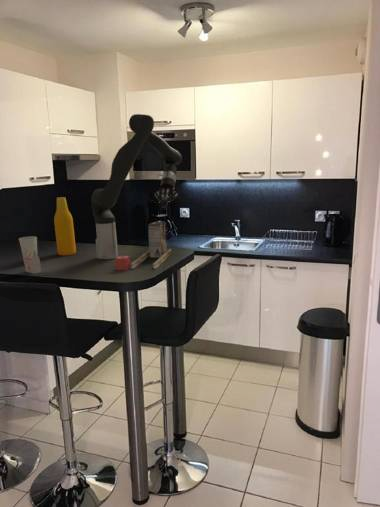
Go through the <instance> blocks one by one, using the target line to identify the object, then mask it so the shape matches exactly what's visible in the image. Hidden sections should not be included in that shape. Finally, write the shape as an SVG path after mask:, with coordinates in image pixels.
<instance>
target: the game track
mask: <svg viewBox="0 0 380 507" xmlns="http://www.w3.org/2000/svg"><path fill="white" fill-rule="evenodd" d="M172 253H173V249H172V248H169V249H167V252H166V253H165V254H164V255H163V256H162V257H158V259H157V260H156V261H155V262H154V263H153V264H152V268H153V269H154V270H155V269H157V268H159V266H160V265H162V264H163V262H165V260H166V259H168V258H169V256H171V255H172ZM147 258H150V250H149V249H148V250H147V251H145V253H143V254H141V256H140V257H138V258H136V259H135V260H134V261H133V262H131V267H130V269H133V270H134V269H135V268H136V267H137V266H139V265H140V264H141V263H142V262H144V261H145V260H146V259H147Z"/></svg>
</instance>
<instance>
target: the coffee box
mask: <svg viewBox="0 0 380 507" xmlns="http://www.w3.org/2000/svg"><path fill="white" fill-rule="evenodd" d="M166 232H167V230H166V221H153V222H150V223H148V224H147V235H148V247H149V249H148V251H149V250H150V256H149V258H160V257H162V256H163V255H164V254H165V253H166V252H167V251H168V244H167V233H166Z"/></svg>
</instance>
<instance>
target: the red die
mask: <svg viewBox="0 0 380 507" xmlns="http://www.w3.org/2000/svg"><path fill="white" fill-rule="evenodd" d="M114 259H115V260H114V261H115V262H114V263H115V270H116V271H128V270H129V269H131V263H132V261H131V256H130V255H118V257H117V258H114Z"/></svg>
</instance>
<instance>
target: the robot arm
mask: <svg viewBox="0 0 380 507" xmlns="http://www.w3.org/2000/svg"><path fill="white" fill-rule="evenodd" d="M128 126H129V129H130V130H131V131H132V132H133V134H134V135H133V136H132V137H131V139H129V140H128V141H127V142H126V143H124V144H123V145H122V146H121V147H120V148H119V149H118V150H117V152H116V154H115V156H114V158H113V160H112V163H111V169H110V170H111V171H110V177H109V179H108V181H107V182H106V185H105V187H104V188H97V189H94V191H93V192H92V194H91V198H90V199H91V200H90V201H91V209H92V215H93V218H94V221H95V228H96V238H95V248H96V258H97V259H98V260H112V259H115V258H117V257H118V256H119V251H118V238H117V229H116V228H117V227H116V216H115V215H114V214H113V213H112V211H111V208H113V207H114V206H115V204H116V203H117V200H118V198H119V195H120V193H121V189H122V187H123V186H124V183H125V181H126V179H127V177H128V175H129V173H130V172H131V169H132V168H133V166H134V163H135V162H136V159H137V158H138V155H139V153H140V152H141V150H142V148H143V146H144V145H145V143H147V144H148V145H149V146H150V147H152V148H153V150H155V152H156V153H157V154H158V155H159V156H160V157H161V158H162V164H163V173H162V175H161V176H162V177H161V180H160V187H159V189H158V191H154V192H153V194H154V196H155V198H156V199H157V200H158V201H159V203H160V206H161V208H162V209H166V208H167V207H168V203H171V202H173V201H174V200H175V199H176V198H177V197H178V196H179V194H178V191H177V190H175V185H176V182H177V170H178V169H177V166H178V165H180V164H181V163H182V161H183V156H182V154H181V153H180V151H178V150H176V149H175V148H173V147H171V146H170V145H169V144H168V142H166V140H164V138H162V137H160V136H159V135H157V134H156V133H155V132H153V130H154V126H155V120H154V118H153V116H151V115H149V114H143V113H141V114H140V113H135V114H132V115H131V116H130V118H129V121H128ZM176 165H177V166H176Z"/></svg>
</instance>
